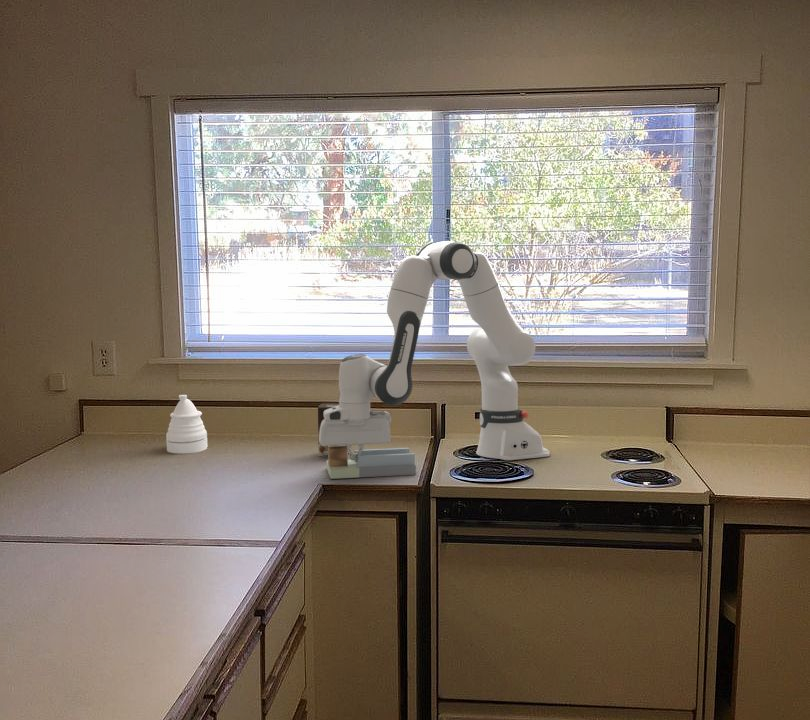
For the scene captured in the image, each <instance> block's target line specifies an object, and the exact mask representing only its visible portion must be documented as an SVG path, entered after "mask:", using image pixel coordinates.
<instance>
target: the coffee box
mask: <svg viewBox="0 0 810 720" xmlns="http://www.w3.org/2000/svg"><path fill="white" fill-rule="evenodd" d="M338 405H339V403H321V404H320V405H319V406H318V407H317V432H318V434H317V435H318V437H317V440H318V441H317V443H318V444H317V445H318V456H322V457H327V456H328V446H322V445H321V444H320V442H319V433H320V426H321V422H322V421H323V420H324V419H325V418H324V415H323V413H324V411H325V410H327V409H329V408H332V407H335V406H338ZM348 453H349V451H348V450H347V455H348V456H349V454H350V453H349V454H348Z"/></svg>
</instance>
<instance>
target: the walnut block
mask: <svg viewBox="0 0 810 720" xmlns="http://www.w3.org/2000/svg"><path fill="white" fill-rule="evenodd" d="M348 456H349V454H348V455H347V447H346V445H336V446H328V457H327V460H328V463H329V466H330V467H337V466H348V459H349V458H348Z"/></svg>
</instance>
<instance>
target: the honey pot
mask: <svg viewBox="0 0 810 720" xmlns="http://www.w3.org/2000/svg"><path fill="white" fill-rule="evenodd" d="M187 397H188V395H187V394H179V395H178V399H179V401H178V402H177V404H176V406H175V408H174V410H173V411H172V412H171V413H170V414H169V417H171V418H170V422H169V423H168V427H167V432H166V434H165V435H166V436H165V437H166V438H165V439H166V451H167V453H170V454H184V455H185V454H193V453H200V452H202V451H206V449H208V448H209V447H208V431H207V430H206V428H205V427H206V426H205V425H204V422H203V420H202V418H201V416H202V415H203V412H202V411H200V410H198V409H197V408H196V406H195V405H194V403H193V402H192V401H191V400H190V399H188V398H187ZM207 447H208V448H207Z"/></svg>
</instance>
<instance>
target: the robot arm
mask: <svg viewBox="0 0 810 720" xmlns="http://www.w3.org/2000/svg"><path fill="white" fill-rule="evenodd" d="M437 280H440V281H448V280H454V281H455V280H456V281H457V282H458V284H459V285H460V289H461V292H462V296H463V298H464V301H465V304H466V307H467V309H468V313H469V315H470V318H471V319H472V320H473V321H474V323H476V324H477V325H478V326H480V328H478V329H476V330H474V331H472V332H470V334H469V336H468V337H467V340H466V348H467V349H466V350H467V353H468V354H469V356H470V357H471V358H472V359H473V361H474V363H475V366H476V368H477V371H478V374H479V378H480V384H481V385H480V386H481V408H480V412H479V426H480V433H479V439H478V440H479V441H478V445H477V449H476V453H475V454H476V455H477V456H479V457H484V458H489V459H500V460H504V461H514V460H515V461H516V460H525V459H536V458H547V457H550V455H551V453H550V450H548V449H547V448H545V447H544V446H543V439H542V436H541V434H540V433H539V432H538V431H537V430H535V428H533V427H532V426H531V425H530V424H528V423H527V422H526V421H524V419H527V418H529V417H530V413H529V412H528V411H526V410H521V409H519V407H518V406H519V402H518V401H519V385H518V382H517V380H515V378H514V377H513V376H512V374H511V371H510V369H509V367H511V366H512V367H514V366H515V367H516V366H522V365H526V364H528V363H530V362H531V360H532V359H533V358H534V356H535V354H536V342H535V340H534V338H533V336H532V335H531V334H529V332H527V331H526V330H524V329H523V328H522V327H521V325H520V324H519V323H518V321H517V320H516V318H515V317H514V316H513V315H512V312H511V311H510V309H509V308H508V306H507V304H506V300H505V299H504V296H503V293H502V290H501V287H500V284H499V281H498V278H497V275H496V272H495V270H494V268H493V266H492V265H491V262H490V260H489V259H488V257H487V256H486V255H485V254H484V253H482V252H480V251H473V250H472V249H471V248H470V246H468V245H466V244H465V243H462V242H460V241H449V240H447V241H445V240H444V241H443V240H442V241H439V242H430V243H427V244H425V245H423V246H421V248H420V249H419V250H418V252H417V253H416V254H415V255H409V256H406V257H404V258H403V259H402V261H401V262H400V264H399V266H398V268H397V271H396V273H395V275H394V277H393V281H392V284H391V286H390V289H389V293H388V299H387V304H386V306H387V307H386V312H387V313H386V314H387V317H388V318H389V320H390V321H391V324H392V326H393V330H394V332H393V333H394V337H393V343H392V347H391V350H390V351H391V352H390V356H389V358H388V359H389V360H388V363H387V364H384V363H381V362H379V361H377V360H375V359H373V358H371V357H369V355H368V354H364V353H359V354H357V353H356V354H351V355H348V356H345V357H344V358H343V359H341V361H340V365H339V370H338V389H339V393H340V395H339V399H338V404H339V405H338V406H335V407H332V408H329V409H327V410H325V411H324V413H323V415H324V418H325V419H324V420H323V421H322V422H321V426H320V433H319V442H320V444H321V445H322V446H336V445H346V447H347V450H348V451H349V459H350V460H358V456H360V454H361V453H362V451H363V450H365V445H377V444H378V445H380V444H389V443H390V441H392V440H391V439H392V437H391V436H392V435H391V428H390V425H391V423H392V416H391V414H390V413H389V412H387V411H386V410H379V411H378V410H371V399H372V398H378V399H379V400H380V401H381V402H382V403H384V404H385V405H388V406H399V405H401V404H403V403H405V402H406V401H407V400H408V399H409V398H410V396H411V394H412V391H413V380H412V367H413V361H414V357H415V352H416V348H417V343H418V338H419V334H420V333H419V332H420V328H421V325H422V319H423V316H424V313H425V310H426V306H427V303H428V300H429V295H430V292H431V288H432V286H433V284H434V283H435V282H436V281H437ZM354 445H358V448H359V449H358V450H359V451H358V452H357V453H354V452H352V450H351V449H352V448H353V446H354Z"/></svg>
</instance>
